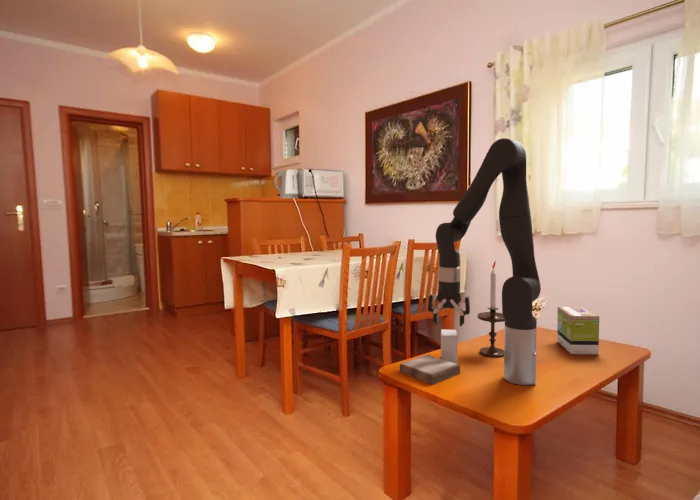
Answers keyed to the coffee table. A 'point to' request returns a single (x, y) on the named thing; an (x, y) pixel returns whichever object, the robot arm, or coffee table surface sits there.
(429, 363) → the tray
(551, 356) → the coffee table surface
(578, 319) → the tea box
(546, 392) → the coffee table surface
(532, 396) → the coffee table surface
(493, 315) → the candlestick
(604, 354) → the coffee table surface
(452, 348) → the small box
